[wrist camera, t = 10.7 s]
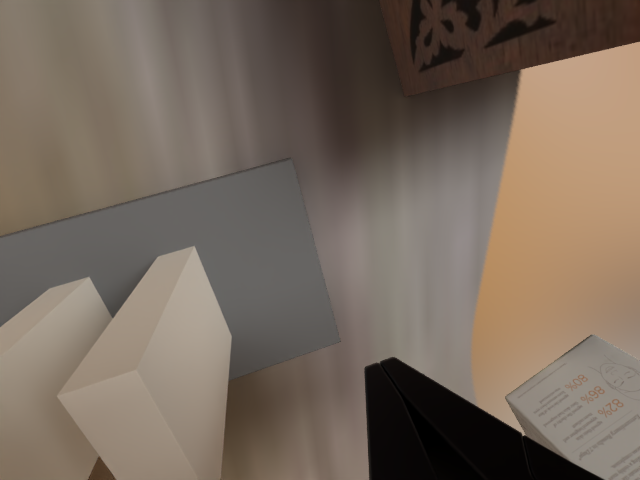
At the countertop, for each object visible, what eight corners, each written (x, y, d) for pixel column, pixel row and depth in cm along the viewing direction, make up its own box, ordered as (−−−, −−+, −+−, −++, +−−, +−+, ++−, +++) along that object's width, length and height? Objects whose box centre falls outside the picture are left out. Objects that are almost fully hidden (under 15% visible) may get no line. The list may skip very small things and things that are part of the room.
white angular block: (194, 245, 14) (136, 369, 7) (231, 336, 16) (218, 512, 9) (157, 256, 14) (56, 396, 7) (199, 346, 16) (157, 536, 8)
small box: (524, 436, 25) (702, 630, 15) (501, 395, 23) (690, 589, 13) (609, 377, 25) (842, 534, 15) (593, 330, 23) (851, 477, 13)
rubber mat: (336, 333, 18) (340, 341, 17) (-184, 512, 15) (-206, 532, 14) (290, 157, 15) (292, 159, 14) (-403, 344, 12) (-447, 359, 11)
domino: (89, 276, 14) (-101, 448, 6) (139, 366, 15) (39, 583, 8) (49, 288, 13) (-194, 479, 6) (105, 378, 15) (-30, 611, 8)
